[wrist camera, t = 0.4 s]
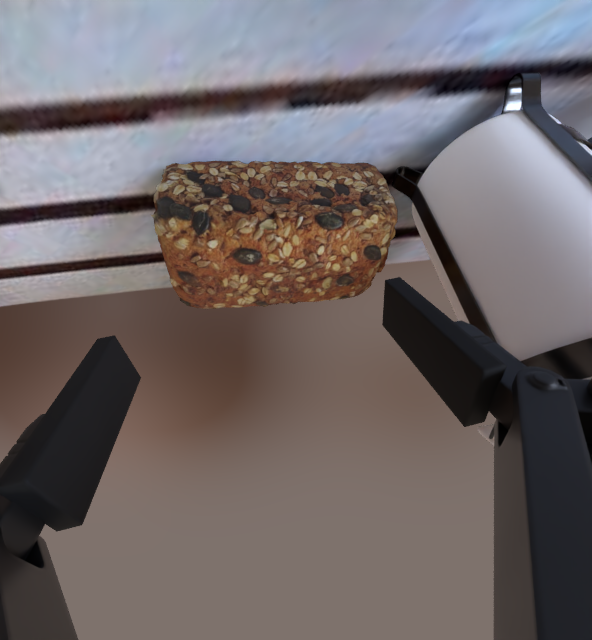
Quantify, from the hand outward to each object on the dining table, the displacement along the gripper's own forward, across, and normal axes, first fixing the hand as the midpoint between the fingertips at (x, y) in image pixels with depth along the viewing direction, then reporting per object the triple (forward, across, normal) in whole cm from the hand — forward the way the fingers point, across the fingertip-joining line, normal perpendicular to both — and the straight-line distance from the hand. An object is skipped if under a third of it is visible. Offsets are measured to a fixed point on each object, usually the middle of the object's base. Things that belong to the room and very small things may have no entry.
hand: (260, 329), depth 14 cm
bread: (+18, +3, +2) cm, 18 cm away
